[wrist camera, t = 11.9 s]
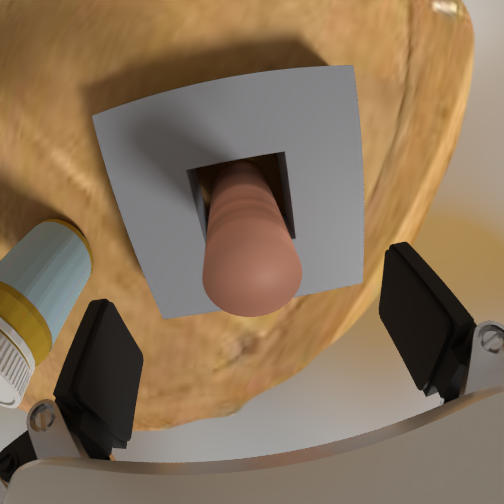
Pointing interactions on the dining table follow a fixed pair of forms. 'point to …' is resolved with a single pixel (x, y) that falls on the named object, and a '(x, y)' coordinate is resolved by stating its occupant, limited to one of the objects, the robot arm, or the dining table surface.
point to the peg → (248, 245)
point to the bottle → (37, 299)
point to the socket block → (232, 148)
